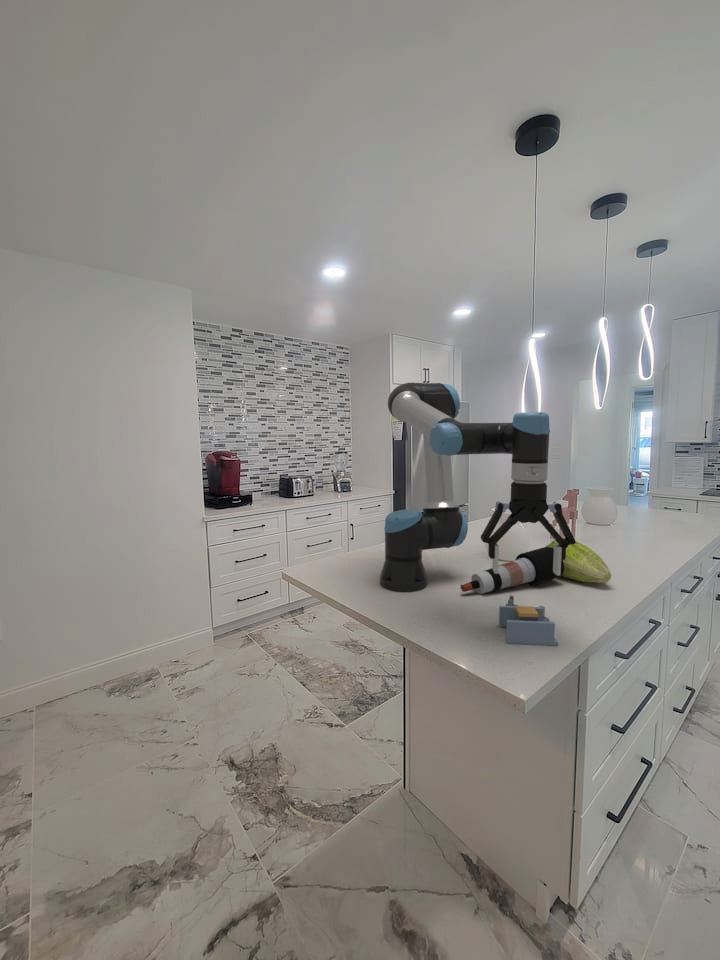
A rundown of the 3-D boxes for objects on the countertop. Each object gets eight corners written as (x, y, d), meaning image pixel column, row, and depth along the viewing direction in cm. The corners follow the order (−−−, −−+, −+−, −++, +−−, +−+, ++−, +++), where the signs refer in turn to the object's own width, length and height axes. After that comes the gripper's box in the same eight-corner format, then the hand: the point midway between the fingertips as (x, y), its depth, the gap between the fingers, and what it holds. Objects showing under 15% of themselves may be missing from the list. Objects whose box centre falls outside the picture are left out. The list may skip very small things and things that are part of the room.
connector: (519, 640, 92) (519, 613, 92) (514, 631, 96) (515, 605, 96) (537, 641, 92) (538, 613, 91) (532, 632, 96) (533, 606, 95)
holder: (507, 643, 91) (507, 621, 90) (498, 625, 100) (499, 605, 99) (557, 645, 90) (558, 623, 89) (544, 627, 98) (545, 607, 98)
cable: (460, 607, 122) (448, 574, 125) (547, 580, 133) (534, 550, 136) (477, 604, 113) (465, 568, 116) (569, 575, 124) (555, 543, 127)
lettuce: (587, 576, 118) (619, 547, 120) (531, 549, 138) (559, 525, 140) (599, 606, 122) (629, 578, 125) (543, 576, 142) (570, 552, 145)
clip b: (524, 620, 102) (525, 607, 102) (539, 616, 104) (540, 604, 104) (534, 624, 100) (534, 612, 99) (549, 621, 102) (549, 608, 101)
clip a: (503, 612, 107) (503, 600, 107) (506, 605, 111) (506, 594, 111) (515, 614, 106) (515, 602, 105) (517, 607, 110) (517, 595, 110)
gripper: (474, 483, 89) (472, 576, 91) (595, 483, 86) (590, 580, 88) (469, 479, 96) (468, 565, 99) (580, 479, 93) (576, 568, 96)
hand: (525, 572), depth 94 cm, fingers open, 13 cm apart
